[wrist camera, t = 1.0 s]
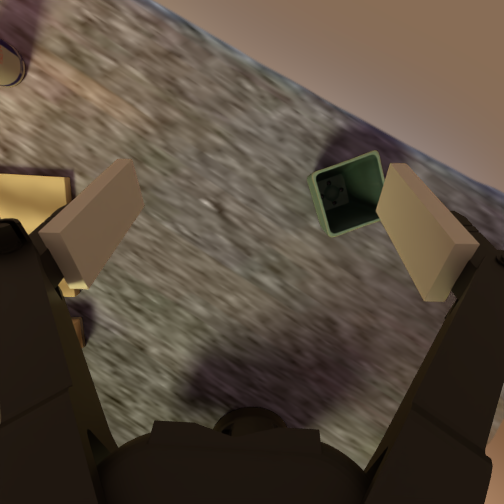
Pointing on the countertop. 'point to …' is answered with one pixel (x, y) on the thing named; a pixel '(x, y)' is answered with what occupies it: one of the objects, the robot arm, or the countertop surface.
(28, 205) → the board
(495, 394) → the robot arm
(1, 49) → the energy drink
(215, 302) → the countertop surface
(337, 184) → the flower pot
